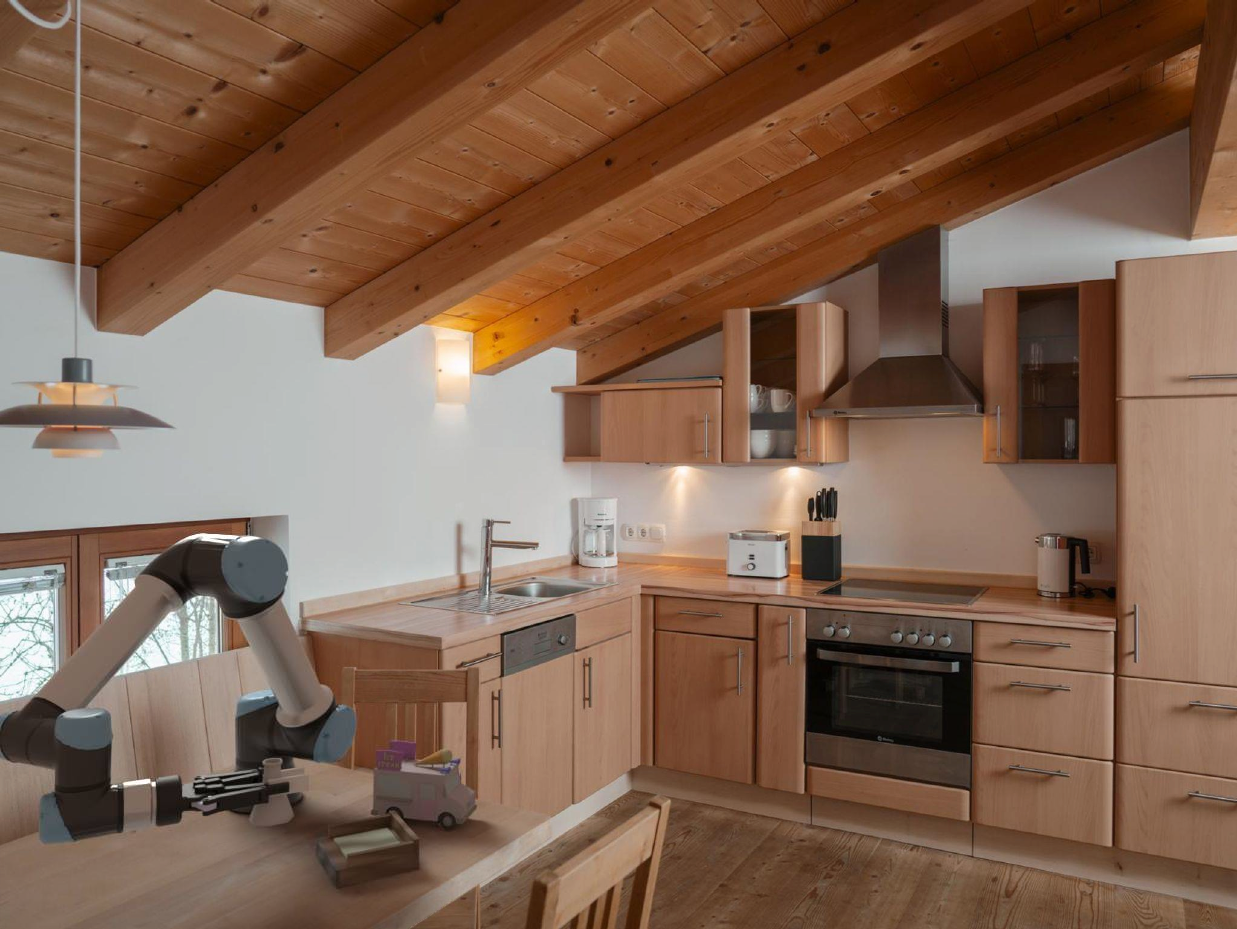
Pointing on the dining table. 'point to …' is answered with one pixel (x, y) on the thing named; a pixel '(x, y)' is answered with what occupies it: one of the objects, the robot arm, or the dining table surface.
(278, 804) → the flask
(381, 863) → the dock
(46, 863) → the dining table surface
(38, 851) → the dining table surface
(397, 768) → the toy vehicle
